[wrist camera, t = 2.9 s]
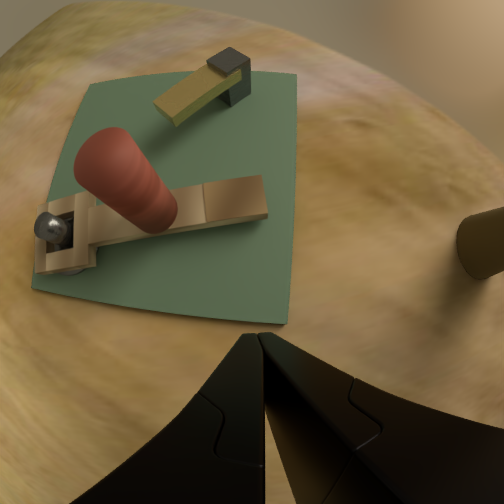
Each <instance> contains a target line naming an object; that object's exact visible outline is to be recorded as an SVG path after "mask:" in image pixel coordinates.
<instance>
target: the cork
mask: <svg viewBox="0 0 504 504" xmlns="http://www.w3.org/2000/svg"><path fill="white" fill-rule="evenodd" d="M457 249H458V254H459V257H460V260H461V263H462V265H463V266H464V268H465V270H466V271H467V272H468V273H469V274H470V275H471V276H472V277H474V278H476V279H486V278H488V277H490V276H493V275H495V274H497V273H500V272H502V271H504V207H501V208H497V209H493V210H490V211H486V212H482V213H479V214H475V215H471V216H469V217H467V218H465V219H464V220H463V221H462V222H461V224H460V226H459V229H458V232H457Z"/></svg>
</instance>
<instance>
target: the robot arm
mask: <svg viewBox="0 0 504 504" xmlns="http://www.w3.org/2000/svg"><path fill="white" fill-rule="evenodd" d="M265 412H266V415H267V418H268V421H269V424H270V427H271V431H272V434H273V437H274V440H275V443H276V446H277V449H278V452H279V455H280V458H281V461H282V464H283V467H284V470H285V472H286V475H287V478H288V481H289V484H290V487H291V490H292V493H293V495H294V498H295V501H296V504H504V429H502V428H498V427H494V426H490V425H486V424H482V423H478V422H475V421H471V420H468V419H464V418H461V417H458V416H454V415H451V414H448V413H444V412H441V411H438V410H435V409H432V408H429V407H426V406H423V405H420V404H417V403H414V402H411V401H409V400H406V399H403V398H400V397H398V396H395V395H393V394H390V393H388V392H385V391H383V390H381V389H379V388H376V387H374V386H372V385H370V384H368V383H366V382H364V381H362V380H360V379H358V378H355V379H354V377H353V376H351V375H349V374H347V373H345V372H343V371H341V370H339V369H337V368H335V367H333V366H332V365H330V364H328V363H326V362H324V361H322V360H320V359H318V358H317V357H315V356H313V355H311V354H309V353H307V352H306V351H304V350H302V349H300V348H298V347H297V346H295V345H293V344H291V343H289V342H288V341H286V340H284V339H282V338H281V337H279V336H277V335H275V334H274V333H272V332H264V333H258V334H256V333H247V334H242V335H241V336H240V338H239V339H238V340H237V342H236V343H235V344H234V346H233V347H232V348H231V349H230V351H229V352H228V353H227V355H226V356H225V357H224V359H223V360H222V361H221V363H220V364H219V365H218V366H217V368H216V369H215V370H214V372H213V373H212V374H211V376H210V377H209V378H208V379H207V381H206V382H205V383H204V384H203V386H202V387H201V388H200V390H199V391H198V392H197V393H196V394H195V395H194V396H193V398H192V399H191V400H190V401H189V403H188V404H187V405H186V406H185V407H184V408H183V409H182V411H181V412H180V413H179V414H178V415H177V416H176V417H175V418H174V419H173V420H172V421H171V422H170V423H169V424H168V425H167V426H166V427H164V428H163V429H162V430H161V431H160V432H159V433H158V434H157V435H155V436H154V437H153V438H152V439H151V440H150V441H149V442H147V443H146V444H145V445H144V446H143V447H141V448H140V449H139V450H138V451H137V452H135V453H134V454H133V455H132V456H131V457H129V458H128V459H127V460H126V461H125V462H123V463H122V464H121V465H120V466H118V467H117V468H116V469H115V470H113V471H112V472H111V473H110V474H108V475H107V476H106V477H104V478H103V479H102V480H101V481H99V482H98V483H97V484H95V485H94V486H93V487H91V488H90V489H89V490H87V491H86V492H85V493H83V494H82V495H81V496H79V497H78V498H76V499H75V500H74V501H72V502H71V503H69V504H265Z"/></svg>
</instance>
